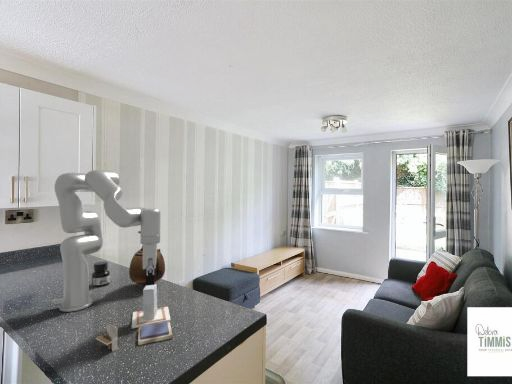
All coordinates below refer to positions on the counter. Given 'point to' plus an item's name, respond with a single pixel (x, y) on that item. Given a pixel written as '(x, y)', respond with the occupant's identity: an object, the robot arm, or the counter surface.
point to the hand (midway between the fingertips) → (149, 281)
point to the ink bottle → (100, 274)
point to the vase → (139, 273)
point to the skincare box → (150, 301)
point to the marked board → (159, 318)
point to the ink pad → (154, 333)
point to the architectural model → (109, 337)
